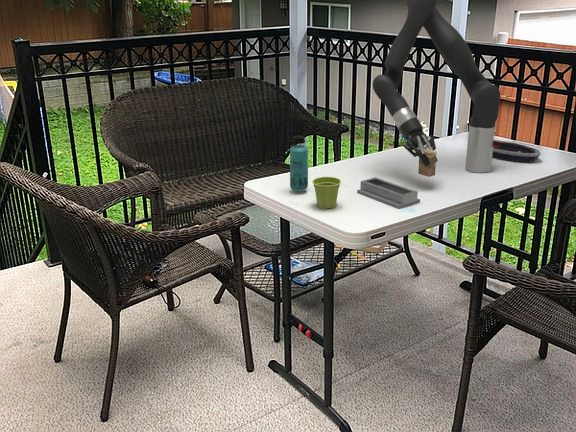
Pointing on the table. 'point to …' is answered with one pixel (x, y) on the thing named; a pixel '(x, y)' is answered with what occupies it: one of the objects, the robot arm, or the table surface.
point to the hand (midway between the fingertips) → (431, 163)
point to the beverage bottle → (298, 164)
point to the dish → (514, 151)
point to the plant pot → (326, 191)
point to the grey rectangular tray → (388, 193)
